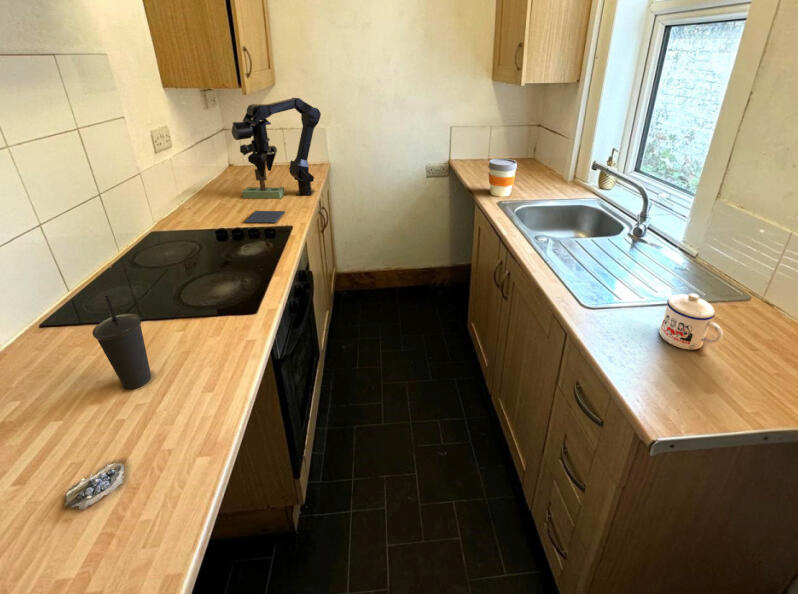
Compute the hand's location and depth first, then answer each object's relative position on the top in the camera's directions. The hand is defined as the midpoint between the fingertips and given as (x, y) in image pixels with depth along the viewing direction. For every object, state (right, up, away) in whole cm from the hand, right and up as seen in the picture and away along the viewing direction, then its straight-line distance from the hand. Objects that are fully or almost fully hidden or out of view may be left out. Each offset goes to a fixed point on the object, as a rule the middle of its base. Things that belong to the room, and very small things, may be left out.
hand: (266, 173), depth 177 cm
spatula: (-6, -8, +14) cm, 17 cm away
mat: (+4, -19, -11) cm, 23 cm away
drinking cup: (+8, -57, -93) cm, 109 cm away
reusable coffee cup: (+103, -7, +17) cm, 105 cm away
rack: (-6, -8, +14) cm, 17 cm away
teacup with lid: (+126, -52, -82) cm, 159 cm away
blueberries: (+15, -66, -113) cm, 132 cm away
